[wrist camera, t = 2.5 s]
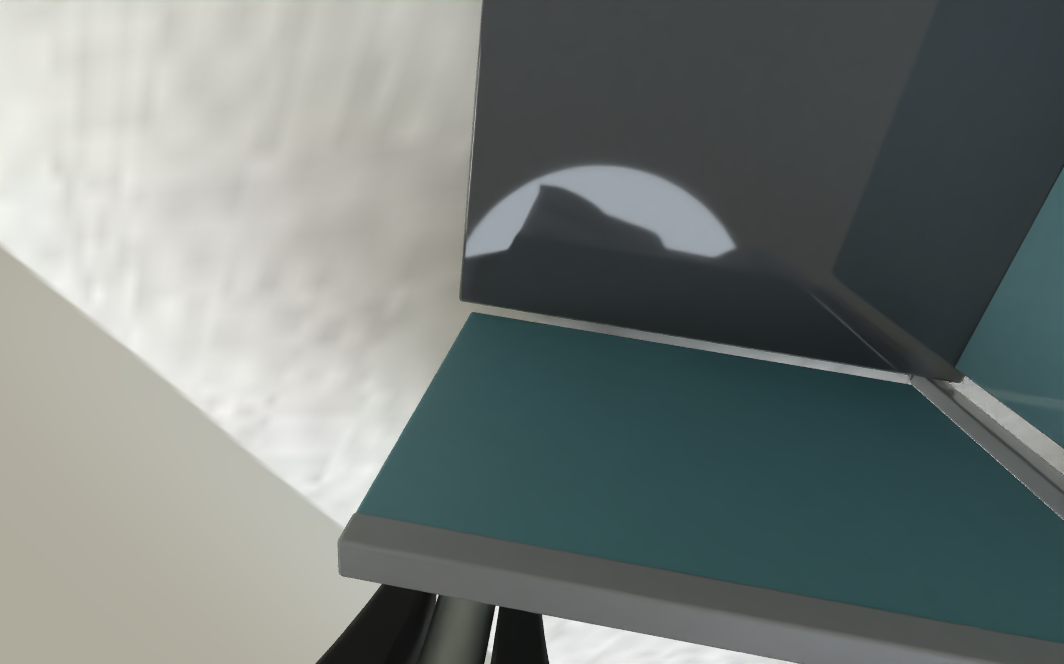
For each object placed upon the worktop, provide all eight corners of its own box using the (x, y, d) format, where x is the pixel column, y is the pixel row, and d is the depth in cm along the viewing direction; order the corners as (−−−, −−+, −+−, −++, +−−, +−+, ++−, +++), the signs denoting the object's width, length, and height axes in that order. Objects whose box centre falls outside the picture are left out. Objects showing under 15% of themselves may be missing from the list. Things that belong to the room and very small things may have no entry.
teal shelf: (827, 549, 14) (1027, 933, 8) (456, 482, 15) (344, 790, 8) (913, 382, 12) (1299, 722, 5) (471, 309, 12) (334, 540, 6)
